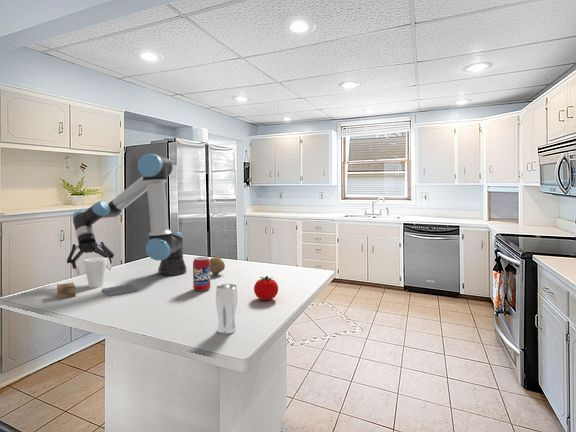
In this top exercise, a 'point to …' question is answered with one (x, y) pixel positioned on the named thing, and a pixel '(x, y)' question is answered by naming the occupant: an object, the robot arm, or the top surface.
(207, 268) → the soda can
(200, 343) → the top surface
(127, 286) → the mat
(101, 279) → the foam cup
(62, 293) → the walnut block
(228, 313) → the beer glass
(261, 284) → the tomato
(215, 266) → the natural sponge
